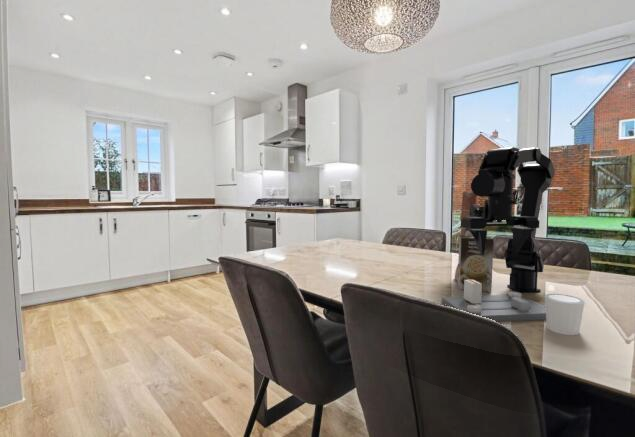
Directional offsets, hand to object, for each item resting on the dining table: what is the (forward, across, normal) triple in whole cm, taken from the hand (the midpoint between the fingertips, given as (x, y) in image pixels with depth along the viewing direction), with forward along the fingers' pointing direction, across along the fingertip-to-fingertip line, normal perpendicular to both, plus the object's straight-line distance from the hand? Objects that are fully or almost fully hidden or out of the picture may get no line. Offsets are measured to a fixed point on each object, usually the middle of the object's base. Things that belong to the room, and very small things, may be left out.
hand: (498, 254), depth 89 cm
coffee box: (+13, -1, -13) cm, 19 cm away
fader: (+11, +9, +3) cm, 15 cm away
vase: (+13, -4, -23) cm, 27 cm away
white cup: (+13, -3, +19) cm, 23 cm away
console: (+13, +4, +6) cm, 15 cm away
